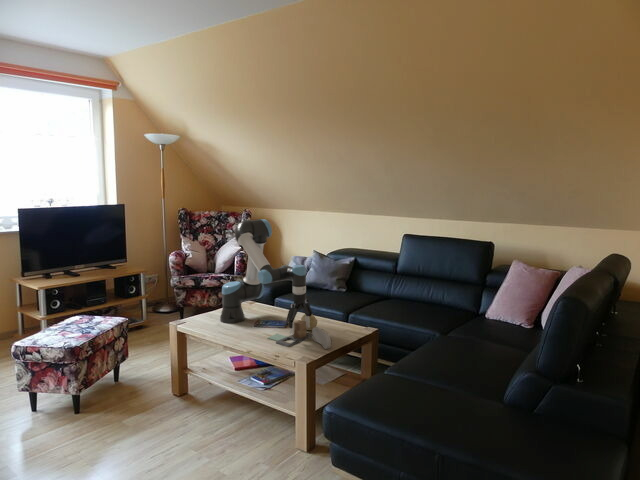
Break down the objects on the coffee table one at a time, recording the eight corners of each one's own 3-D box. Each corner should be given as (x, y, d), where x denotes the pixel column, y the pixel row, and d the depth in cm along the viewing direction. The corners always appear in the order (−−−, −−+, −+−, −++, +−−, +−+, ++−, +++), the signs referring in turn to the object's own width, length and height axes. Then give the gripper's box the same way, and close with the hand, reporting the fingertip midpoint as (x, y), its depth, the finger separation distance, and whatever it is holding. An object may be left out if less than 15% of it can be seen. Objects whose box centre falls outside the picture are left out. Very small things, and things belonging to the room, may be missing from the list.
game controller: (331, 350, 251) (331, 335, 249) (327, 351, 250) (327, 335, 248) (315, 339, 268) (315, 324, 267) (311, 339, 267) (311, 325, 266)
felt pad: (267, 338, 269) (267, 337, 269) (277, 334, 275) (277, 333, 275) (278, 341, 264) (278, 340, 264) (287, 337, 270) (287, 336, 270)
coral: (316, 314, 290) (318, 312, 281) (315, 331, 288) (317, 329, 278) (300, 313, 290) (301, 311, 280) (300, 330, 287) (301, 329, 277)
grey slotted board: (275, 343, 261) (275, 341, 261) (301, 332, 278) (301, 330, 278) (288, 346, 256) (288, 345, 255) (313, 335, 273) (313, 333, 273)
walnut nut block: (293, 337, 270) (293, 322, 268) (299, 335, 274) (299, 320, 272) (300, 339, 267) (300, 323, 265) (306, 337, 271) (305, 321, 269)
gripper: (289, 298, 255) (290, 337, 257) (318, 289, 274) (318, 325, 277) (279, 296, 259) (279, 334, 262) (307, 287, 279) (308, 323, 282)
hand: (299, 330), depth 270 cm, fingers open, 13 cm apart
